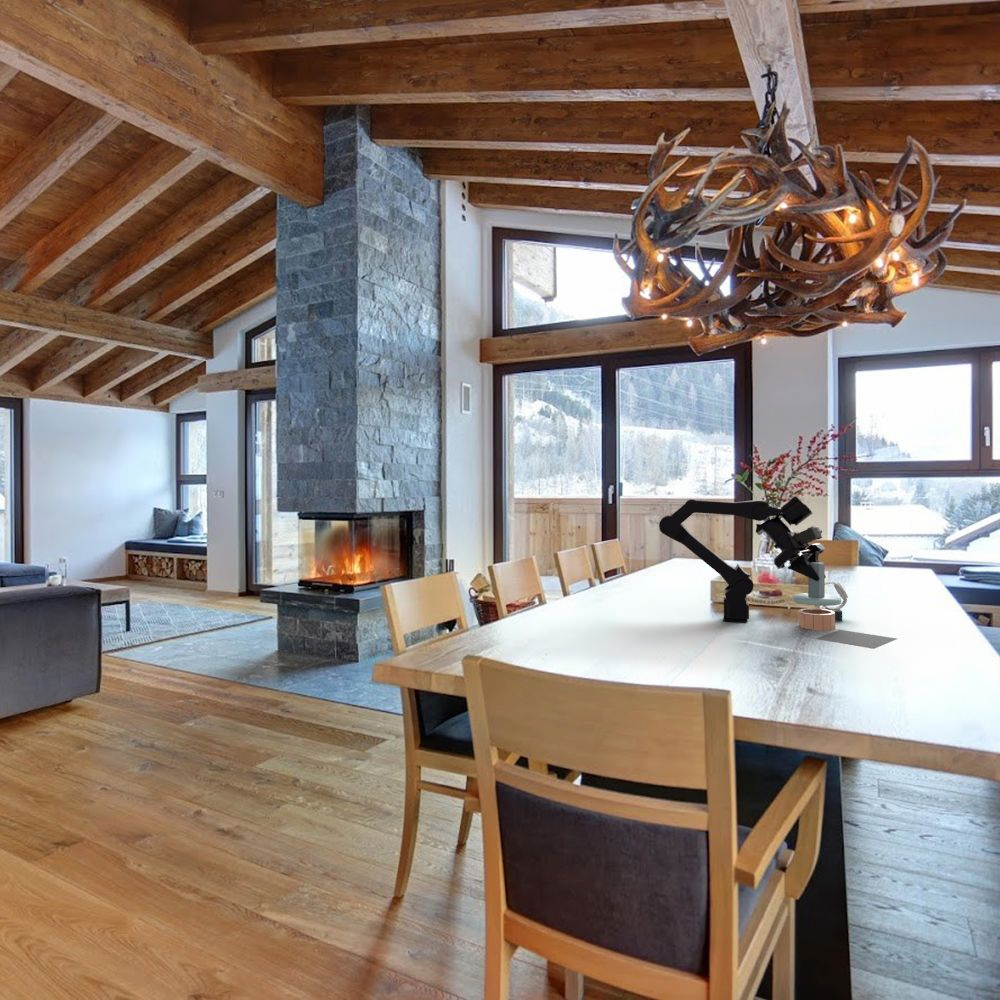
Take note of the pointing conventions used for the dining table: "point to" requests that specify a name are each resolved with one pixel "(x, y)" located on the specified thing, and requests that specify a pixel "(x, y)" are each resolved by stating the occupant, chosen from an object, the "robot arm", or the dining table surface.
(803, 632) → the dining table surface
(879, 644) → the mat
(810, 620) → the bowl
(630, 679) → the dining table surface
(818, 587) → the domed base post
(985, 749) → the dining table surface
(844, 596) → the watch
